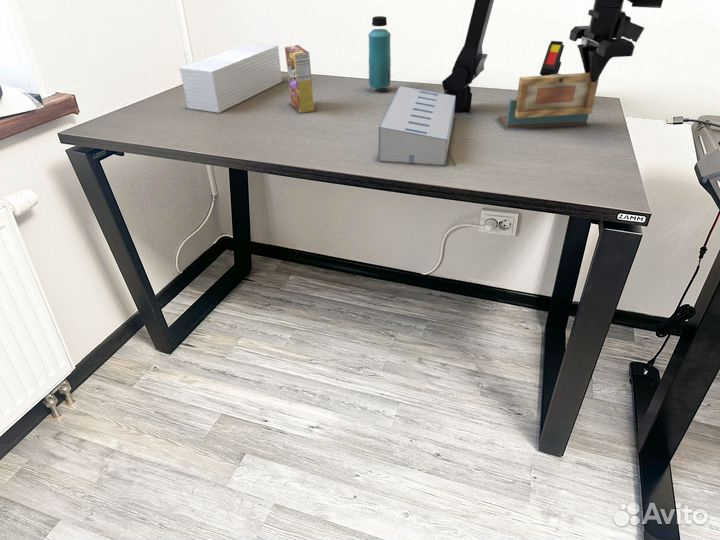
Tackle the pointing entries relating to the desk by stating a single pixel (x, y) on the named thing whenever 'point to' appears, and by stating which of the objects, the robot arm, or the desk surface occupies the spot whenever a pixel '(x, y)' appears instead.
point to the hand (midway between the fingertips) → (591, 80)
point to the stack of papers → (231, 76)
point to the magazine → (552, 59)
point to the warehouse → (417, 127)
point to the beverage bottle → (379, 54)
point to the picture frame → (555, 95)
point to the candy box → (299, 78)
